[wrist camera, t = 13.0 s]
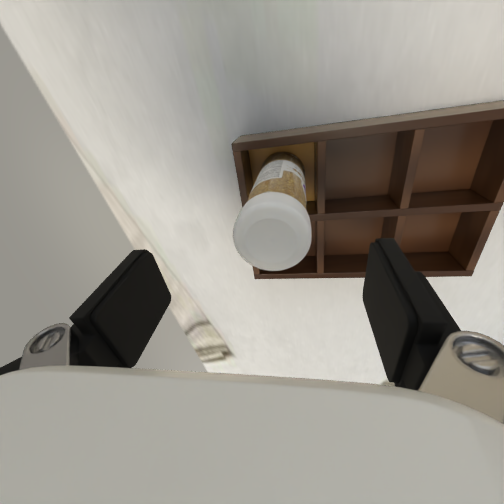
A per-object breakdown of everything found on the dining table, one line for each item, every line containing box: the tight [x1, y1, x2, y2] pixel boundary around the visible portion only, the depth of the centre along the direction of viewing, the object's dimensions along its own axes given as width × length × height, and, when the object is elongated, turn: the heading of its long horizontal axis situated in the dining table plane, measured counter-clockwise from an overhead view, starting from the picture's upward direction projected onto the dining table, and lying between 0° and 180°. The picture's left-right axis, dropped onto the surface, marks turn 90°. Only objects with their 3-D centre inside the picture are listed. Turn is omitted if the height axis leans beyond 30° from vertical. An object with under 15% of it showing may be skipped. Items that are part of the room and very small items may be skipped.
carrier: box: [232, 100, 504, 279], centre depth 24 cm, size 15×22×4 cm
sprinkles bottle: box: [233, 152, 312, 271], centre depth 19 cm, size 5×5×13 cm
